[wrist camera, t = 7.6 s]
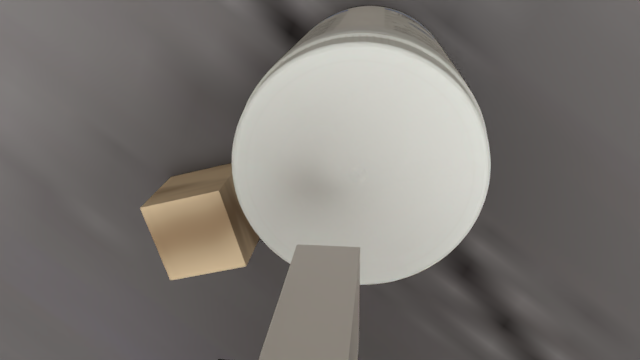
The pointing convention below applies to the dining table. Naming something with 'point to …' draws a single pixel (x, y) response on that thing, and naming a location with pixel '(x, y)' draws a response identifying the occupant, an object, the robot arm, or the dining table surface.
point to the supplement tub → (363, 146)
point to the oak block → (199, 223)
